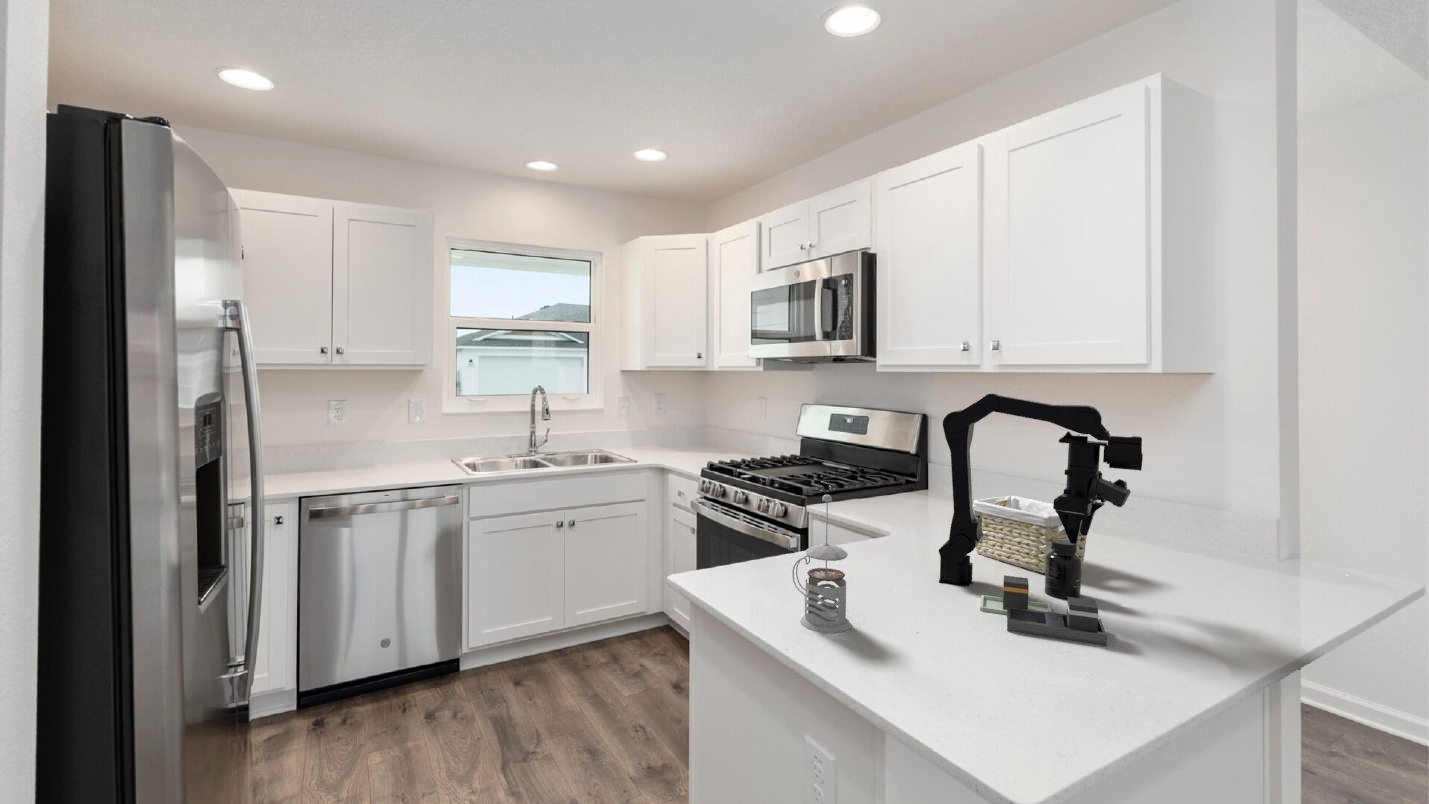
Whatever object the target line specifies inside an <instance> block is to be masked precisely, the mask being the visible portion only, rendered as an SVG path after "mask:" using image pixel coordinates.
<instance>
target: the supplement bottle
mask: <svg viewBox="0 0 1429 804" xmlns="http://www.w3.org/2000/svg"><path fill="white" fill-rule="evenodd" d="M1051 549H1052V550H1053V551H1052V552H1050V553H1048V554H1047V556H1046V573H1044V575H1045V576H1044V577H1045V578H1044V593H1045V594H1046V595H1047V596H1049V597H1052V598H1055V599H1058V600H1065V601H1068V597H1074V598H1081V590H1082V589H1081V585H1082V567H1081V559H1080V558H1079V557H1078V556H1077V555H1076V554H1075V553H1076V552H1077V543H1076V544H1072V543H1070V541H1067V540H1052V546H1051Z"/></svg>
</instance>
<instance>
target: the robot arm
mask: <svg viewBox="0 0 1429 804" xmlns="http://www.w3.org/2000/svg"><path fill="white" fill-rule="evenodd" d="M993 412H994V413H1000V414H1005V415H1009V416H1015V417H1021V418H1026V419H1032V420H1036V421H1041V422H1042V421H1043V422H1047V423H1051V424H1054V425H1056V426H1058V427H1061V428H1063V429H1066V430H1067V431H1066V433H1065V434H1064V435H1063V436H1062V437H1060V438H1059V439H1058V443H1060V444H1068V448H1067V449H1068V452H1067V468H1066V469H1064V475H1065V476H1066V485H1065V486H1066V487H1065V488H1064V489H1063V493H1062V494H1060V495H1059V496H1057V497H1055V498H1054V499H1053V504H1054V505H1053V509H1055V511H1056V513H1057V514H1058V516H1059V518H1060V520H1061V522H1062V525H1063V527H1064V529H1065V532H1066V534H1067V536H1068V539H1069V541H1070V543H1072V544H1076V543H1077V540H1078V536H1079V532H1081V535H1084V536H1088V534H1089V530H1090V529H1091V526H1092V522H1093V519H1094V517H1095V513H1096V511H1097V510H1099V509H1101V508H1102V507H1103V506H1105V504H1106V503H1107V502H1108V503H1111V504H1112V505H1113V506H1115V507H1117V508H1122V507H1123V506H1125V504H1126V502H1127V500H1128V499H1129V497H1130V494H1131V492H1132V491H1131V489H1129V488H1128V483H1127V481H1126V480H1123V479H1120V478H1119V479H1117V480H1116V481H1114V482H1112V481H1111V480H1108V479H1107V480H1106V479H1104V478H1103V472H1102V471H1101V470H1100V456H1101V455H1100V454H1101V453H1100V452H1101V447H1103V455H1102V457H1103V458H1102V460H1103V461H1102V463H1106V464H1107V465H1108V467H1109V469H1118V470H1128V471H1129V470H1130V471H1140V472H1141V471H1142V468H1143V456H1144V454H1143V452H1142V451H1143V443H1142V442H1143V438H1142V437H1141V436H1137V435H1136V436H1135V435H1134V436H1133V435H1132V436H1122V435H1121V436H1120V435H1111V434H1110V430H1107V429H1106V427H1105V426H1104V425H1103V424H1102V417H1103V416H1102V415H1101V412H1100V411H1099V410H1098V409H1097V408H1096V407H1094V406H1092V405H1086V404H1085V405H1083V404H1050V403H1045V402H1039V401H1034V400H1027V399H1022V398H1015V397H1010V396H1004V395H1000V394H997V393H996V392H995V393H992V392H991V393H987V394H985V395H984V396H982V398H981V399H979V400H977V401H975V402H974V403H972V404H970V405H969V406H967V407H965V408H964V409H962V410H961V409H959V410H955V411H952V412H950V413H947V414H946V416H945V417H944V418H943V420H942V428H943V429H942V430H943V433H944V438H945V441H946V443H947V445H948V448H949V451H950V465H951V467H950V468H951V480H952V482H951V483H952V484H951V485H952V503H953V514H952V520H951V523H950V528H949V529H950V530H949V536H948V540H947V541H946V542H944V544H942V546H941V547H940V548H938V554H939V556H940V560H939V563H940V565H939V579H938V583H939V584H945V585H952V586H961V587H970V584H972V583H973V569H974V568H973V567H974V565H973V564H974V563H973V562H971V555H969V554H970V553H972V552H973V551H974V550H976V546H977V545H978V543H979V542H980V541H981V540H980V539H981V538H982V537H983V535H984V534H983V532H982V518H978V519H976V517H975V515H974V511H973V504H974V501H973V487H972V469H971V467H972V466H971V452H970V450H971V445H972V441H973V437H974V430H975V424H976V423H978V422H979V421H981V420H982V419H984V418H986V417H987V416H988V415H990V414H992V413H993ZM1069 430H1070V431H1072V432H1074V433H1075V432H1076V433H1078V434H1080V435H1076V434H1075V435H1073V434H1072V433H1071V432H1070V431H1069ZM1087 435H1090V436H1091V437H1092V438H1094V439H1096V440H1097V441H1093V440H1089V437H1088V436H1087ZM1098 501H1100V502H1098Z"/></svg>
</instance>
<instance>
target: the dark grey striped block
mask: <svg viewBox="0 0 1429 804" xmlns="http://www.w3.org/2000/svg"><path fill="white" fill-rule="evenodd" d="M1002 585H1003V586H1002V587H1003V588H1002V590H1003V591H1002V592H1003V595H1002V598H1003V610H1007V606H1009V607H1016V608H1024V609H1028V601H1029V594H1030V593H1029V592H1030V589H1029V587H1030V586H1029V578H1028V577H1021V576H1013V575H1005V574H1004V575H1003V583H1002Z"/></svg>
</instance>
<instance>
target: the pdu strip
mask: <svg viewBox="0 0 1429 804" xmlns="http://www.w3.org/2000/svg"><path fill="white" fill-rule="evenodd" d="M1006 631H1007V632H1010V633H1016V634H1017V633H1018V634H1021V635H1023V634H1024V635H1030V636H1036V637H1042V638H1043V637H1044V638H1049V639H1056V640H1062V641H1069V642H1076V643H1082V644H1087V645H1096V646H1102V647H1107V643H1108V642H1107V641H1108V634H1107V632H1106V630H1105V626H1104V624H1103V622H1102V619H1100V618H1098V630H1097V632H1096V631H1089V630H1083V629H1076V628H1069V627H1067V613H1066V614H1065V613H1059V612H1052V611H1051V612H1045V611H1038V610H1031V609H1024V608H1016V607H1009V606H1007V615H1006Z"/></svg>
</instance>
